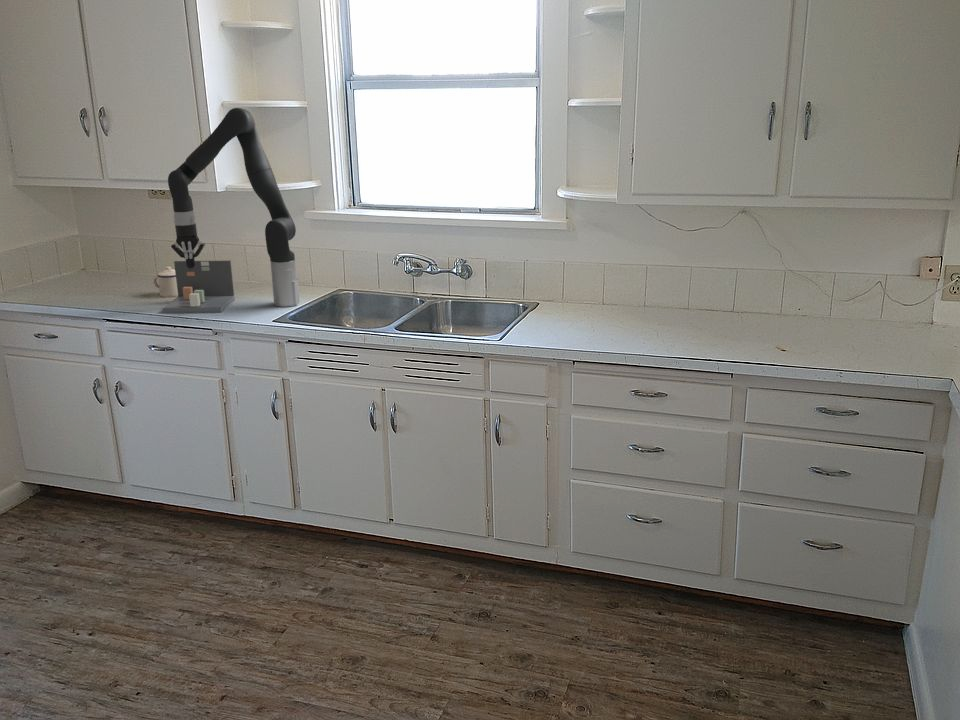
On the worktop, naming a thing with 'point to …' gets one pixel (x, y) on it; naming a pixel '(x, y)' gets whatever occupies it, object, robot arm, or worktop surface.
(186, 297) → the terracotta slider
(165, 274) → the teacup with lid
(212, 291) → the switch unit
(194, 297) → the cream slider
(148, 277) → the worktop surface
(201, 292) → the sage slider
